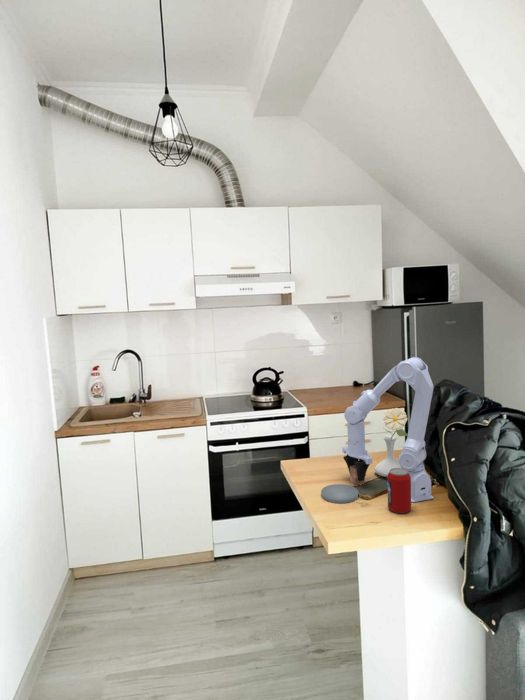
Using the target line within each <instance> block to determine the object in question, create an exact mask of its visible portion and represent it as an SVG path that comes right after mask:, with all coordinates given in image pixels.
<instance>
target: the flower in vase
mask: <svg viewBox="0 0 525 700" xmlns="http://www.w3.org/2000/svg"><path fill="white" fill-rule="evenodd" d="M407 416H408V415H407V413H406V412H405V410H402V409H400V408H398V407H395V408H391V409H389V410H387V411H386V412H385V414H384V416H383V419H382V420H383V421H384V426H385V427H387V428H388V429H391V430H393V431H394V433H392V432H391V430H388V429H386V428H384V430H385V432H387V433H389V434H391V435H384V436H382V439H383V440H384V442H385V445H386V457H385V458H384V459H383V460H382V461H379V463H377V464H376V465H375V467H374V472H375V473H376V474H377V475H378V476H380V477H385V478H387V475H388V473H389V472H390V469H393V468H401V466H400V464H399V462H398V459H397V458H395V453H394V452H395V451H394V450H395V449H394V447H395V443H396V441H397V439H398V437H407V436H408V433H406V431H405V430H404V429H402V428H404V427H405V425H406V423H407V421H408V417H407ZM395 434H397V435H398V436H396V435H395Z"/></svg>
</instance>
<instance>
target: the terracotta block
mask: <svg viewBox="0 0 525 700" xmlns="http://www.w3.org/2000/svg"><path fill="white" fill-rule="evenodd" d="M349 478H350V484H352V486H353V487H354V486H355V487H357V486H356V485H360V484H363V483H365V482H366V481H365V479H364V480H363V481H358V476H357V469H356V466H355V465H353V466H350V473H349ZM365 484H366V483H365ZM360 486H361V485H360Z"/></svg>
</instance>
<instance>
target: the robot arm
mask: <svg viewBox="0 0 525 700" xmlns="http://www.w3.org/2000/svg"><path fill="white" fill-rule="evenodd" d="M400 381H403V382H405V383H407V384H408V385H410V387H411V388H412V389H413V391H415V392H414V397H413V402H412V403H413V404H412V408H411V415H410V419H409V420H410V421H409V424H408V425H409V426H408V431H407V436H406V440H405V442H404V444H403V446H402V447H403V448H402V451H401V452H400V453H399V455H398V458H397V461H398V462H399V464H400V466H401V468H403V469H406V470H407V471H408V473H409V475H410V477H411V503H417V502H422V501H428V500H432V499H434V496H433V495H432V479H431V477H430V475H428V474H427V472H426V469H425V463H424V461H425V460H426V458H427V450H426V441H425V436H426V430H427V425H428V420H429V415H430V411H431V403H432V399H433V394H434V384H433V381H432V378H431V375H430V373H429V367H428V364H426V363H425V362H424V361H423V359H421V358H420V357H417V356H412V357H410V358H408V359H406V360H402V361H400V362H399V363H398V364H397V365H395V366H394V367H392V368H391V369H390V370H389V371H388V373H387V374H386V375H385V376H383V378H382V379H380V381H379V382H378V383H377V384H376V385H375V387H373V389H366V390H363V391H362V392H361V393H360V397H359V398H358V399H357V400H353V402H352V405H351V406H347V407H346V409H345V410H344V413H343V414H344V419H345V421H346V422H347V446H343V447H342V448H341V449H342V454H346V455H344V456H343V460H344V461H345V464H346V466H347V469H348V472H349V473H348V474H350V466H353V465H355V466H356V469H357V476H358V481H363V480H364V479H365V478H366V475H367V471H368V469H369V467H370V465H371V464H373V457H371V456H370V455H369V454H368V450H367V449H366V440H365V439H366V434H365V432H366V430H365V420H366V418H367V417H368V415H369V413H370V412H371V411H373V409H374V408H375V407H377V406H378V404H380V402H381V397H382V396H383V394H385V392H386V391H388V390H389V389H390V388H391V387H392V386H393V385H394V384H395V383H396V382H397V383H398V382H400Z"/></svg>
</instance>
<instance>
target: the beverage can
mask: <svg viewBox="0 0 525 700" xmlns="http://www.w3.org/2000/svg"><path fill="white" fill-rule="evenodd" d="M386 478H387V480H386V481H387V482H386V483H387V484H386V485H387V486H386V487H387V508H388V509H389V510H390V511H392V512H394V513H396V514H405V513H408V512H410V511H411V509H412V502H411V477H410V475H409V473H408V471H407V470H406V469H403V468H393V469H390V472H389V473H388V475H387V477H386Z"/></svg>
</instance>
